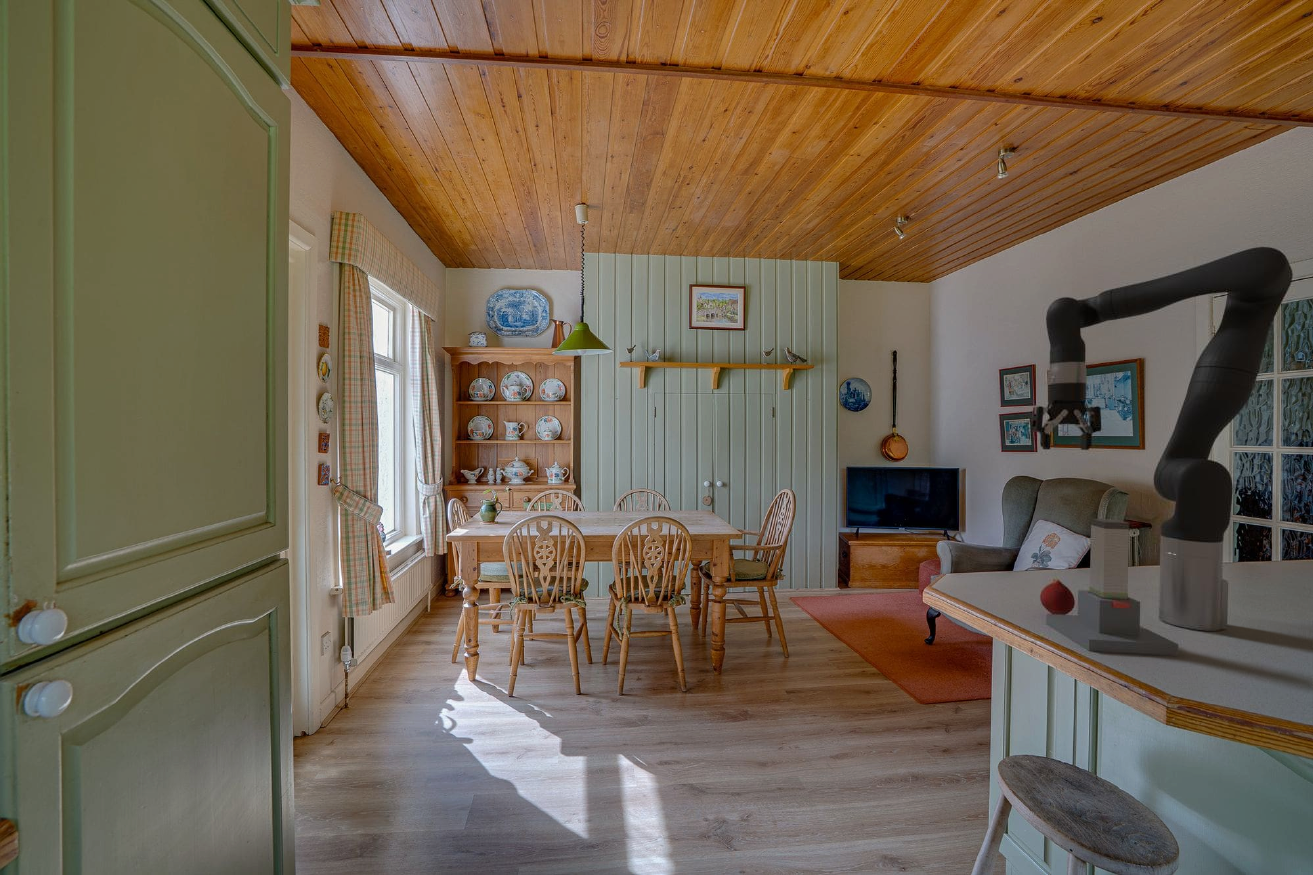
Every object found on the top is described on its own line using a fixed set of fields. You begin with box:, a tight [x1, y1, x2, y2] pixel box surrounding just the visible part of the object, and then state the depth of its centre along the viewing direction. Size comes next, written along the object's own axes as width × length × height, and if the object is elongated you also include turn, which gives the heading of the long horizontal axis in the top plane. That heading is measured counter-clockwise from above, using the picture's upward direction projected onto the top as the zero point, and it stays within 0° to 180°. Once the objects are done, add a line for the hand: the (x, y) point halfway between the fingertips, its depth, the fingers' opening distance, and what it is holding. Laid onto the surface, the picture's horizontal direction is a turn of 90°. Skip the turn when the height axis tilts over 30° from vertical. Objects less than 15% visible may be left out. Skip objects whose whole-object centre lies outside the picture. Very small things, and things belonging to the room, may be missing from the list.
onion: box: [1039, 578, 1076, 615], centre depth 118 cm, size 6×6×8 cm
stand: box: [1045, 589, 1179, 657], centre depth 106 cm, size 14×14×8 cm
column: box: [1088, 518, 1130, 600], centre depth 106 cm, size 4×4×14 cm
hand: (1065, 449), depth 138 cm, fingers open, 8 cm apart
